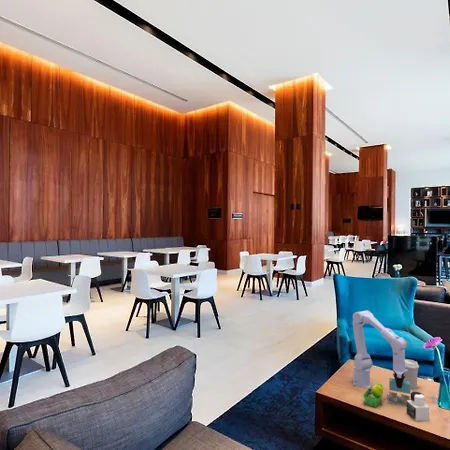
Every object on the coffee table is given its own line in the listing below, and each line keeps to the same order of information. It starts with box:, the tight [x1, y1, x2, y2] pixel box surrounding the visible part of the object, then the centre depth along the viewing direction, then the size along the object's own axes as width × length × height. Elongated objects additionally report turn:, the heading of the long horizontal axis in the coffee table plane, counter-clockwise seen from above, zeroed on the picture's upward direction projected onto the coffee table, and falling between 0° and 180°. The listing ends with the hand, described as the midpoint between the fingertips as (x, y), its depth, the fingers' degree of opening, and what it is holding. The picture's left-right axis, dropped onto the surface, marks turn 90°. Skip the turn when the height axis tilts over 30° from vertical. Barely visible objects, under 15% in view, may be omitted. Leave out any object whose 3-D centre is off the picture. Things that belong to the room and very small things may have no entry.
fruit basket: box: [362, 383, 384, 408], centre depth 180 cm, size 11×9×11 cm
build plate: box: [386, 393, 411, 408], centre depth 182 cm, size 12×10×1 cm
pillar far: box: [400, 393, 411, 404], centre depth 180 cm, size 4×4×3 cm
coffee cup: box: [403, 358, 420, 390], centre depth 198 cm, size 10×10×15 cm
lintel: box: [388, 377, 411, 395], centre depth 182 cm, size 10×4×5 cm, turn 63°
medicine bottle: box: [406, 391, 430, 422], centre depth 167 cm, size 7×7×12 cm
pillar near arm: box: [388, 391, 398, 402], centre depth 183 cm, size 4×4×3 cm
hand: (399, 385), depth 182 cm, fingers closed on lintel, 4 cm apart
